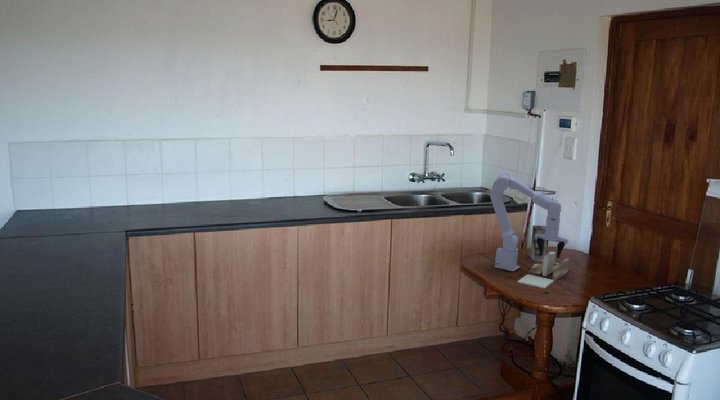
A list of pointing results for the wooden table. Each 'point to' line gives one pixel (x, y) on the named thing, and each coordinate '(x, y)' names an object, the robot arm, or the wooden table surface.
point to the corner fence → (558, 268)
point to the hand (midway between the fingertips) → (549, 256)
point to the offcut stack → (537, 269)
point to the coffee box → (534, 246)
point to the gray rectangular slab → (548, 263)
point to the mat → (535, 281)
